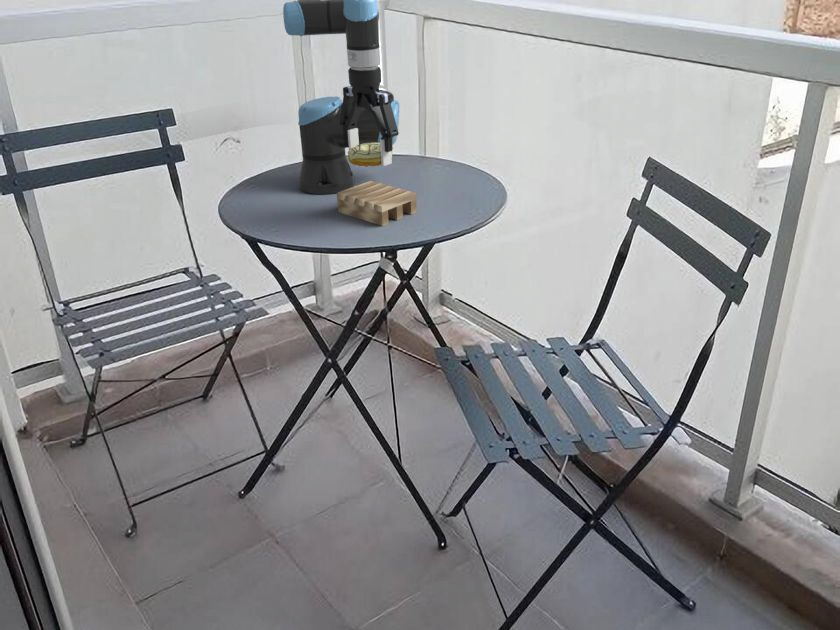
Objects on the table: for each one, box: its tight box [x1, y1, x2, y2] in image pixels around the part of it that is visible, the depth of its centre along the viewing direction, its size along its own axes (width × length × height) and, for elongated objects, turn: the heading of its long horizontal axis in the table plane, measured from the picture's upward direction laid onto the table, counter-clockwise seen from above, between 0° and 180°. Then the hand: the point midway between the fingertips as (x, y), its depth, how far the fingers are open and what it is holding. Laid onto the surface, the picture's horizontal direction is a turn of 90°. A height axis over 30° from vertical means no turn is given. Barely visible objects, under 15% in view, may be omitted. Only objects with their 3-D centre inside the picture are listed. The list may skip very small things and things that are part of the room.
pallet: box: [336, 180, 418, 227], centre depth 203 cm, size 16×12×5 cm
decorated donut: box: [347, 143, 393, 167], centre depth 197 cm, size 10×11×4 cm
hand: (370, 159), depth 198 cm, fingers closed on decorated donut, 11 cm apart
